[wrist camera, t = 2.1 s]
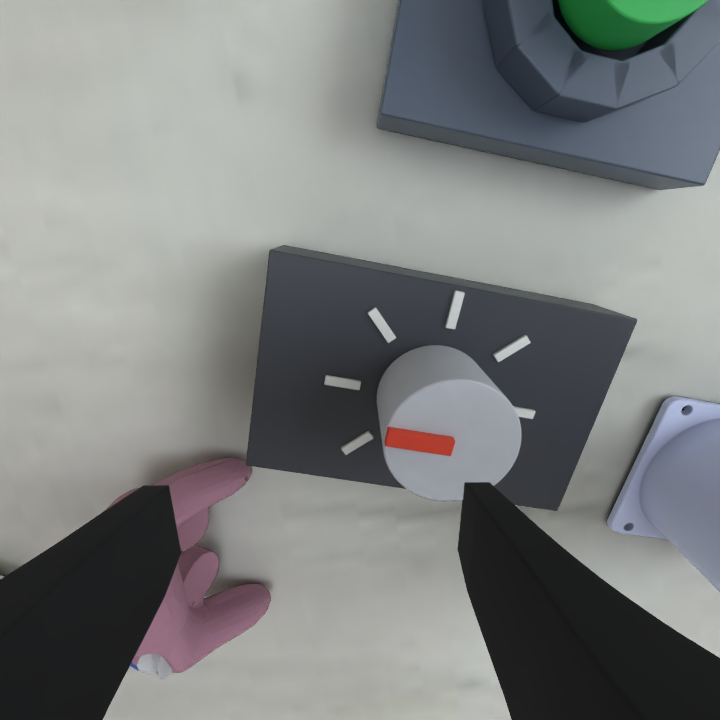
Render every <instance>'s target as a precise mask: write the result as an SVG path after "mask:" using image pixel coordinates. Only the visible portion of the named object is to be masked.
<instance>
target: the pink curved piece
mask: <svg viewBox="0 0 720 720" xmlns="http://www.w3.org/2000/svg"><path fill="white" fill-rule="evenodd" d="M251 474H252V467H251V466H249V465H246V461H245V460H243V459H238V458H226V459H218V460H212V461H208V462H204V463H201V464H197V465H195V466H192V467H189V468H187V469H184V470H182V471H179V472H177V473H175V474H173V475H171V476H169V477H167V478H165V479H163V480H161V481H159V482H157V483H155V484H153V485H169V488H170V494H171V499H172V504H173V510H174V515H175V521H176V526H177V532H178V537H179V543H180V548H181V551H183V550H186V551H184V552H183V553H182V555H181V556H180V557H179V560H178V563H177V566H176V568H175V571H174V574H173V577H172V579H171V582H170V585H169V587H168V590H167V592H166V595H165V597H164V599H163V601H162V603H161V605H160V607H159V609H158V611H157V613H156V615H155V617H154V619H153V621H152V623H151V625H150V627H149V629H148V631H147V633H146V635H145V637H144V639H143V641H142V643H141V645H140V647H139V649H138V651H137V653H136V654H135V656H134V658H133V660H132V662H131V664H130V666H131V667H133V668H135V669H136V670H138V671H141V672H143V673H146V674H155V673H158V676H159V677H160V678H161V679H165V678H167V677H168V676H169V675H170V674H171V673H181V672H183V671H185V670H187V669H188V668H190V667H192V666H193V665H194V664H196V663H197V662H198V661H200V660H201V659H202V658H204V657H205V656H207V655H208V654H209V653H211V652H212V651H213V650H215V649H216V648H218V647H219V646H221V645H223V644H225V643H226V642H228V641H230V640H231V639H233V638H235V637H237V636H238V635H240V634H242V633H243V632H245V631H246V630H247V629H249V628H250V627H252V626H253V625H255V624H256V623H257V622H258V620H259V619H260V618H261V617H262V616H263V615H264V614H265V613H266V611H267V609H268V607H269V604H270V601H271V595H270V592H269V590H268V589H267V588H266V587H265V586H264V585H260V584H246V585H241V586H237V587H233V588H230V589H227V590H224V591H222V592H219V593H217V594H214V595H211V596H209V597H207V598H204V597H205V595H206V593H207V591H208V589H209V588H210V586H211V584H212V582H213V581H214V579H215V577H216V574H217V572H218V567H219V560H218V557H217V555H216V554H215V553H213V552H211V551H209V550H206V549H204V548H202V547H199V546H194V545H195V544H196V543H197V542H198V541H199V540H200V539H201V538H202V536H203V535H204V533H205V531H206V529H207V526H208V522H209V510H208V507H209V506H211V505H213V504H215V503H217V502H219V501H221V500H223V499H225V498H227V497H228V496H230V495H232V494H234V493H235V492H236V491H238V490H239V489H240V488H241V487H242V486H243V485H244V484H245V483H246V482H247V481H248V479H249V478H250V476H251ZM137 489H139V488H136V489H133V490H130V491H128V492H127V493H125V494H123V495H122V496H120V497H119V498H117V499H116V500H115V501H114V502H113V503H112V504H111V505H110V506H109V507H108V508H110V507H111V506H113V505H114V504H116V503H117V502H119V501H120V500H122V499H123V498H125V497H126V496H128V495H129V494H131V493H132V492H134V491H135V490H137ZM108 508H107V509H108Z"/></svg>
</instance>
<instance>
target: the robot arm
mask: <svg viewBox="0 0 720 720" xmlns="http://www.w3.org/2000/svg"><path fill="white" fill-rule="evenodd" d="M685 406H686V408H685V409H684V410H683V411H682V409H683V407H685ZM627 523H628V524H627ZM607 525H608V526H609V528H610V529H611V530H612V531H614V532H617V533H624V534H631V535H638V536H645V537H652V538H659V539H666V540H669V541H670V542H671V543H672V544H673V545H674V546H675V547H676V548H677V549H678V550H679V551H680V552H681V553H682V554H683V555H684V556H685V557H686V558H687V559H688V560H689V561H690V562H691V563H692V564H693V565H694V566H695V567H696V568H697V569H698V570H699V571H700V572H701V573H702V574H703V575H704V576H705V577H706V578H707V579H708V580H709V581H710V582H711V583H712V584H713V585H714V586H715V588H716V589H717V590H718V591H719V592H720V404H718V403H712V402H706V401H700V400H695V399H689V398H683V397H678V396H672V397H669V398H667V399H666V400H665V401H664V402H663V404H662V406H661V408H660V410H659V412H658V414H657V416H656V418H655V421H654V423H653V425H652V427H651V429H650V431H649V433H648V435H647V437H646V440H645V442H644V444H643V446H642V448H641V450H640V452H639V454H638V456H637V459H636V461H635V463H634V465H633V467H632V469H631V471H630V473H629V475H628V478H627V480H626V482H625V484H624V486H623V488H622V490H621V492H620V494H619V497H618V499H617V501H616V503H615V505H614V507H613V509H612V511H611V513H610V515H609V518H608V520H607ZM458 552H459V557H460V561H461V566H462V570H463V575H464V579H465V583H466V587H467V591H468V594H469V597H470V600H471V603H472V606H473V609H474V612H475V615H476V617H477V620H478V623H479V626H480V629H481V632H482V635H483V637H484V640H485V643H486V646H487V649H488V651H489V654H490V657H491V660H492V663H493V666H494V668H495V671H496V674H497V677H498V680H499V683H500V685H501V688H502V691H503V694H504V697H505V700H506V703H507V706H508V709H509V712H510V716H511V719H512V720H720V658H719V657H717V656H716V655H714V654H712V653H711V652H709V651H707V650H706V649H704V648H703V647H701V646H699V645H698V644H696V643H695V642H693V641H691V640H690V639H688V638H686V637H685V636H683V635H682V634H680V633H679V632H677V631H676V630H674V629H672V628H671V627H669V626H668V625H666V624H665V623H663V622H662V621H660V620H659V619H657V618H656V617H654V616H653V615H652V614H650V613H649V612H647V611H646V610H644V609H643V608H642V607H640V606H639V605H637V604H636V603H634V602H633V601H631V600H630V599H629V598H627V597H626V596H624V595H623V594H621V593H620V592H619V591H617V590H616V589H615V588H613V587H612V586H611V585H609V584H608V583H607V582H605V581H604V580H603V579H601V578H600V577H599V576H597V575H596V574H595V573H594V572H592V571H591V570H590V569H589V568H587V567H586V566H585V565H583V564H582V563H581V562H580V561H578V560H577V559H576V558H575V557H573V556H572V555H571V554H570V553H569V552H567V551H566V550H565V549H564V548H563V547H561V546H560V545H559V544H558V543H557V542H555V541H554V540H553V539H552V538H551V537H550V536H548V535H547V534H546V533H545V532H544V531H543V530H542V529H540V528H539V527H538V526H537V525H536V524H535V523H534V522H533V521H531V520H530V519H529V518H528V517H527V516H526V515H525V514H524V513H523V512H522V511H520V510H519V509H518V508H517V507H516V506H515V505H514V504H513V503H512V502H511V501H510V500H508V499H507V498H506V497H505V496H504V495H503V494H502V493H501V492H500V491H499V490H498V489H496V488H495V487H494V486H493V485H492V484H491V483H490V482H465V483H464V493H463V502H462V512H461V522H460V532H459V542H458ZM180 554H181V548H180V543H179V537H178V532H177V526H176V521H175V515H174V510H173V504H172V499H171V494H170V488H169V485H148V486H142V487H141V488H139V489H137V490H135V491H134V492H132V493H131V494H129V495H128V496H126V497H125V498H123V499H122V500H120V501H119V502H117V503H116V504H114V505H113V506H111V507H110V508H108V509H107V510H105V511H104V512H102V513H101V514H100V515H98V516H97V517H95V518H94V519H92V520H91V521H89V522H88V523H86V524H85V525H83V526H82V527H80V528H79V529H77V530H76V531H75V532H73V533H72V534H70V535H69V536H67V537H66V538H64V539H63V540H61V541H60V542H58V543H57V544H55V545H54V546H52V547H51V548H49V549H48V550H46V551H44V552H43V553H41V554H40V555H38V556H37V557H35V558H33V559H32V560H30V561H29V562H27V563H26V564H24V565H22V566H21V567H19V568H18V569H16V570H15V571H13V572H11V573H10V574H8V575H7V576H5V577H3V578H2V579H0V720H103V718H104V716H105V714H106V711H107V709H108V707H109V705H110V703H111V701H112V699H113V697H114V695H115V693H116V691H117V690H118V688H119V686H120V684H121V682H122V680H123V678H124V676H125V674H126V672H127V670H128V668H129V666H130V664H131V662H132V660H133V658H134V656H135V654H136V653H137V651H138V649H139V647H140V645H141V643H142V641H143V639H144V637H145V635H146V633H147V631H148V629H149V627H150V625H151V623H152V621H153V619H154V617H155V615H156V613H157V611H158V609H159V607H160V605H161V603H162V601H163V599H164V597H165V595H166V592H167V590H168V587H169V585H170V582H171V579H172V577H173V574H174V571H175V568H176V566H177V563H178V560H179V557H180Z"/></svg>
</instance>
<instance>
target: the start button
mask: <svg viewBox="0 0 720 720" xmlns="http://www.w3.org/2000/svg"><path fill="white" fill-rule="evenodd" d="M708 1H709V0H558V4H559V7H560V10H561V13H562V15H563V17H564V19H565V21H566V23H567V25H568V26H569V28H570V29H571V30H572V31H573V33H574V34H575V35H576V36H577V37H578V38H580V39H581V40H582V41H584V42H585V43H587V44H589V45H591V46H593V47H596V48H599V49H604V50H622V49H628V48H631V47H634V46H637V45H639V44H641V43H643V42H645V41H647V40H649V39H650V38H652V37H653V36H655V35H657V34H658V33H660V32H662V31H663V30H665V29H666V28H668V27H670V26H671V25H673V24H675V23H676V22H678V21H679V20H681V19H683V18H684V17H686V16H688V15H689V14H691V13H692V12H694V11H696V10H697V9H699V8H700V7H701V6H703V5H704V4H705V3H706V2H708Z"/></svg>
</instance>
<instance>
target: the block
mask: <svg viewBox="0 0 720 720" xmlns="http://www.w3.org/2000/svg"><path fill="white" fill-rule="evenodd" d="M377 128H379V129H383V130H388V131H392V132H397V133H402V134H406V135H411V136H415V137H420V138H424V139H429V140H434V141H438V142H443V143H447V144H452V145H457V146H461V147H466V148H470V149H475V150H480V151H484V152H489V153H493V154H498V155H503V156H507V157H512V158H516V159H521V160H526V161H530V162H535V163H539V164H544V165H548V166H553V167H558V168H562V169H567V170H571V171H576V172H581V173H585V174H590V175H594V176H599V177H604V178H608V179H613V180H617V181H622V182H627V183H631V184H636V185H640V186H645V187H649V188H654V189H659V190H664V189H674V188H684V187H693V186H702V185H704V184H705V183H706V181H707V178H708V176H709V174H710V171H711V169H712V167H713V164H714V162H715V160H716V157H717V155H718V153H719V150H720V0H709V1H708V2H706V3H705V4H704V5H703V6H701V7H700V8H699V9H697V10H696V11H694V12H692V13H691V14H689V15H688V16H686V17H684V18H683V19H681V20H679V21H678V22H676V23H675V24H673V25H671V26H670V27H668V28H666V29H665V30H663V31H662V32H660V33H658V34H657V35H655V36H653V37H652V38H650V39H649V40H647V41H645V42H643V43H641V44H639V45H637V46H634V47H631V48H628V49H622V50H604V49H599V48H596V47H593V46H591V45H589V44H587V43H585V42H584V41H582V40H581V39H580V38H578V37H577V36H576V35H575V34H574V33H573V31H572V30H571V29H570V28H569V26H568V25H567V23H566V21H565V19H564V17H563V15H562V13H561V10H560V7H559V4H558V0H399V2H398V7H397V13H396V19H395V24H394V30H393V36H392V41H391V47H390V52H389V58H388V64H387V69H386V75H385V81H384V86H383V92H382V98H381V103H380V109H379V115H378V120H377Z"/></svg>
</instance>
